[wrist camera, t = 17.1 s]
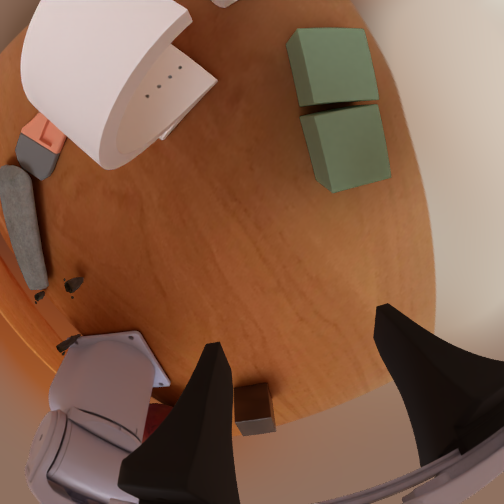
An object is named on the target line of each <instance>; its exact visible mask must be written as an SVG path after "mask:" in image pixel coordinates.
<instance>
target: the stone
mask: <svg viewBox="0 0 504 504" xmlns="http://www.w3.org/2000/svg"><path fill="white" fill-rule="evenodd" d="M0 198H1V203H2V208H3V213H4V217H5V222H6V226H7V230H8V233H9V237H10V240H11V244H12V247H13V250H14V253H15V256H16V259H17V262H18V264H19V267H20V269H21V272H22V274H23V276H24V279H25V281H26V283H27V285H28V287H29V288H30V289H31V290H37V289H39V290H42V289H44V288H47V287H48V286H49V282H48V277H47V271H46V267H45V263H44V257H43V253H42V245H41V239H40V233H39V227H38V221H37V215H36V208H35V201H34V194H33V187H32V180H31V178H30V176H29V175H28V174H27V173H26V172H25V171H24V170H23V169H21V168H19V167H17V166H14V165H11V166H10V165H4V166H2V167H1V168H0Z"/></svg>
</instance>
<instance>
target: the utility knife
mask: <svg viewBox="0 0 504 504" xmlns="http://www.w3.org/2000/svg"><path fill="white" fill-rule="evenodd" d="M66 138H67V136H66V135H65V134H64V133H63V132H62V131H61V130H59V129H58V128H57V127H56V126H55V125H54V124H53V123H52V122H51V121H50V120H48V119H47V118H46V117H45V116H44V115H43V114H42V113H41V112H40V111H39V112H38V114H37V115H36V116H35V117H34V118H33V119H32V120H31V121H30V122H29V123H28V124H26V125H25V126H24V127H23V128H22V130H21V134H20V137H19V139H18V142H17V146H16V149H15V151H16V156H17V159H18V162H19V163H20V165H21V167H22V168H23V169H24V170H26V171H27V172H29V173H30V174H32V175H34V176H35V177H37V178H38V179H40V180H43V179H45V178H47V177H49V176H50V175H51V174H52V172H53V170H54V168H55V165H56V162H57V160H58V157H59V155H60V152H61V149H62V147H63V145H64V142H65V140H66Z"/></svg>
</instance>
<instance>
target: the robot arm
mask: <svg viewBox="0 0 504 504" xmlns="http://www.w3.org/2000/svg"><path fill="white" fill-rule="evenodd" d="M131 336H132V337H131ZM69 338H70V337H69ZM69 338H67V339H69ZM373 338H374V341H375V343H376V346H377V349H378V351H379V353H380V356H381V358H382V360H383V362H384V363H385V365H386V367H387V369H388V371H389V373H390V374H391V376H392V378H393V380H394V382H395V384H396V386H397V387H398V389H399V392H400V394H401V396H402V398H403V401H404V404H405V407H406V409H407V412H408V415H409V418H410V421H411V425H412V428H413V432H414V435H415V440H416V444H417V449H418V454H419V459H420V466H421V468H419V469H417V470H415V471H413V472H410V473H408V474H406V475H403V476H401V477H399V478H396V479H394V480H391V481H389V482H386V483H383V484H380V485H378V486H375V487H372V488H369V489H366V490H363V491H360V492H356V493H353V494H350V495H346V496H343V497H339V498H335V499H331V500H327V501H322V502H318V503H313V504H370V503H373V502H376V501H379V500H382V499H385V498H387V497H390V496H392V495H395V494H397V493H400V492H402V491H404V490H407V489H409V488H411V487H414V486H416V485H418V484H420V483H422V482H424V481H426V480H428V479H430V478H432V477H434V476H435V478H434V479H432V480H430V481H429V482H427V483H425V484H423V485H421V486H419V487H417V488H415V489H414V490H413V491H412V492H411V493H409V494H408V495H406V496H404V497H403V498H402V501H403V503H402V504H460V503H462V502H463V501H465V500H466V499H468V498H469V497H471V496H472V495H474V494H475V493H476V492H478V491H479V490H481V489H482V488H483V487H485V486H486V485H487V484H488V483H490V482H491V481H492V480H493V479H495V478H496V477H497V476H499V475H500V474H501V473H502V472H503V471H504V361H499V360H493V359H489V358H486V357H482V356H479V355H476V354H473V353H471V352H468V351H465V350H463V349H461V348H458V347H456V346H454V345H452V344H450V343H448V342H446V341H444V340H442V339H440V338H439V337H437V336H435V335H434V334H432V333H430V332H429V331H427V330H426V329H424V328H423V327H421V326H420V325H418V324H417V323H415V322H414V321H412V320H411V319H409V318H408V317H407V316H405V315H404V314H402V313H401V312H400V311H398V310H397V309H396V308H394V307H393V306H391V305H390V304H388V303H387V304H384V305H380V306H377V307H376V318H375V328H374V337H373ZM170 383H171V382H170V380H169V379H168V377H167V376H166V374H165V372H164V371H163V369H162V368H161V366H160V365H159V363H158V361H157V360H156V358H155V357H154V355H153V353H152V352H151V350H150V348H149V347H148V345H147V343H146V342H145V340H144V338H143V336H142V335H141V333H140V332H138V331H128V332H120V333H111V334H102V335H92V336H81V337H78V339H77V340H76V341H75V343H74V344H72V345H70V348H69V350H68V352H67V354H66V356H65V357H64V359H63V361H62V363H61V365H60V367H59V369H58V371H57V373H56V375H55V378H54V379H53V382H52V384H51V386H50V390H49V405H50V409H51V411H50V412H48V413H47V414H46V416H45V417H44V418H43V420H42V422H41V423H40V425H39V427H38V429H37V431H36V433H35V436H34V438H33V441H32V444H31V448H30V452H29V458H28V461H27V463H26V466H25V476H26V481H27V485H28V487H29V488H30V490H31V492H32V493H33V494H34V496H35V497H36V498H37V500H38V501H39V502H40V504H240V500H239V494H238V488H237V481H236V474H235V466H234V457H233V447H232V406H233V383H232V372H231V368H230V366H229V363H228V361H227V358H226V356H225V354H224V351H223V349H222V346H221V344H220V342H215V343H209V344H206V345H205V347H204V350H203V352H202V354H201V357H200V359H199V361H198V363H197V366H196V368H195V370H194V372H193V374H192V376H191V378H190V380H189V382H188V384H187V386H186V387H185V389H184V391H183V392H182V394H181V396H180V398H179V399H178V401H177V402H176V404H175V405H174V407H173V408H172V410H171V411H170V413H169V414H168V415H167V417H166V418H165V419H164V420H163V422H162V423H161V424H160V425H159V426H158V428H157V429H156V430H155V431H154V432H153V433H152V434H151V435H150V436H149V437H148V438H147V439H146V440H145V441H144V442H143V443H142V438H143V433H144V427H145V422H146V417H147V412H148V407H149V402H150V397H151V393H152V388H153V387H165V386H170Z"/></svg>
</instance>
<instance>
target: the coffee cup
mask: <svg viewBox="0 0 504 504" xmlns="http://www.w3.org/2000/svg"><path fill="white" fill-rule="evenodd" d="M192 22H193V21H192V18H191V16H190V14H189V12H188V10H187V9H186V8H184V7H183V6H181V5H179V4H178V3H176V2H175V1H173V0H41V2H40V4H39V5H38V7H37V9H36V11H35V13H34V15H33V18H32V20H31V22H30V24H29V27H28V30H27V33H26V37H25V40H24V44H23V50H22V55H21V80H22V85H23V88H24V92H25V94H26V96H27V98H28V100H29V101H30V102H31V103H32V105H33V106H34V107H35V108H36V109H38V110H39V111H40V112H41V113H42V114H43V115H44V116H45V117H46V118H47V119H48V120H50V121H51V122H52V123H53V124H54V125H55V126H56V127H57V128H58V129H59V130H61V131H62V132H63V133H64V134H65V135H66V136H67V137H68V138H69V139H71V140H72V141H73V142H74V143H75V144H76V145H77V146H78V147H80V148H81V149H82V150H83V151H84V152H85V153H86V154H88V155H89V156H90V157H91V158H92V159H93V160H94V161H96V162H97V163H98V164H99V165H100V166H101V167H102V168H104V169H106V170H113V169H116V168H119V167H121V166H123V165H125V164H126V163H128V162H129V161H131V160H132V159H134V158H135V157H137V156H138V155H139V154H140V153H142V152H143V151H144V150H145V149H147V148H148V147H149V146H150V145H151V144H152V143H154V142H155V141H156V140H157V139H158V138H159V139H161V140H164V139H165V138H166V137H167V136H168V135H169V134H170V133H171V131H172V130H173V129H174V128H175V127H176V126H177V124H178V123H179V122H180V121H181V120H182V119H183V118H184V117H185V116H186V114H187V113H188V112H189V111H190V110H191V109H192V108H193V107H194V106H195V105H196V104H197V103H198V102H199V101H200V99H201V98H202V97H203V96H204V95H205V94H206V93H207V92H208V91H209V90H210V89H211V88H212V87H213V86H214V85H215V84H216V83H217V82H218V80H217V79H216V78H214V77H213V76H212V75H211V74H210V73H208V72H207V71H206V70H205V69H203V68H202V67H201V66H200V65H198V64H197V63H196V62H194V61H193V60H192V59H191V58H189V57H188V56H187V55H185V54H184V53H183V52H181V51H180V50H179V49H177V48H176V47H175V46H173V45H172V44H171V42H172V41H173V40H174V39H175V38H176V37H177V36H178V35H179V34H180V33H181V32H182V31H183V30H184V29H185V28H186V27H187V26H189V25H190V24H191V23H192Z"/></svg>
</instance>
